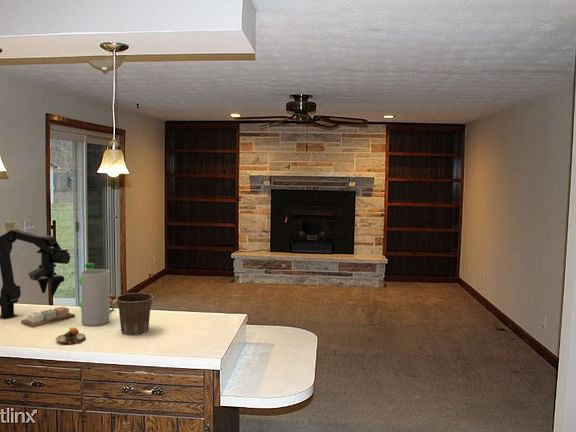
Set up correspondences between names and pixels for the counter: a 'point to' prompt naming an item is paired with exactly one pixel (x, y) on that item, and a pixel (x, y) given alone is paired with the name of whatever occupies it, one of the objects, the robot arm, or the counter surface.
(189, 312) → the counter surface
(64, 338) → the mossy decorative centerpiece
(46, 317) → the tile two pips
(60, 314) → the tile three pips
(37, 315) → the tile one pip
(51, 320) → the walnut board
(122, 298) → the plant pot
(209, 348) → the counter surface
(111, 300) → the lion figurine
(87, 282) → the cylinder vase
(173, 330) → the counter surface
